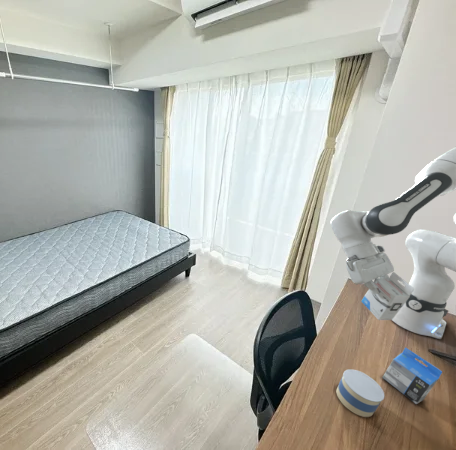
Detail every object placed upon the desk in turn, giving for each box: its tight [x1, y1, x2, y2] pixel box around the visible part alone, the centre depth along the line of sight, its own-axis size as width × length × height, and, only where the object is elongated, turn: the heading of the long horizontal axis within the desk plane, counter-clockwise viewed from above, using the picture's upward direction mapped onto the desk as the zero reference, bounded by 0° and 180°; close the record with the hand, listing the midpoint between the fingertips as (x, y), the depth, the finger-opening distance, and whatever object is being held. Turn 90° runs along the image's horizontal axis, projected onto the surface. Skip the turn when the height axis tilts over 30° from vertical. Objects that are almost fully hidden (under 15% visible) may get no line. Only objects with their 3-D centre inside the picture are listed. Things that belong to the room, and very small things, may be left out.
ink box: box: [360, 271, 414, 321], centre depth 83 cm, size 9×5×15 cm, turn 0°
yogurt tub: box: [335, 368, 385, 418], centre depth 70 cm, size 9×9×7 cm
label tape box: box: [382, 346, 443, 405], centre depth 73 cm, size 9×4×12 cm, turn 20°
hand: (383, 291), depth 84 cm, fingers closed on ink box, 6 cm apart
